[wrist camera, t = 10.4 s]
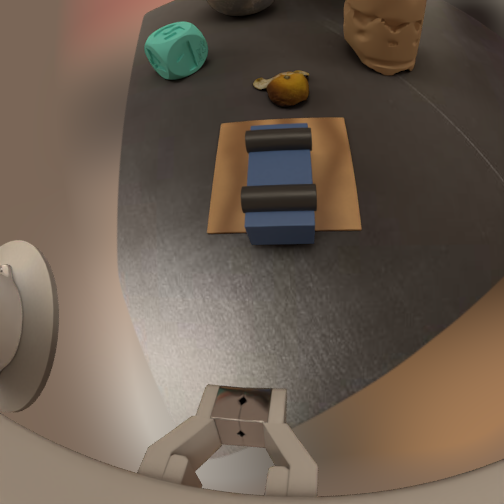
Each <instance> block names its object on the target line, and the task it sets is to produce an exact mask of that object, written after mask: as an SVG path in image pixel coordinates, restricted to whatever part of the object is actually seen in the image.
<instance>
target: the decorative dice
mask: <svg viewBox="0 0 504 504" xmlns="http://www.w3.org/2000/svg"><path fill="white" fill-rule="evenodd" d="M144 50H145V53H146V56H147V58H148V60H149V62H150V63H151V65H152V66H153V68H154V69H155V70H156V71H157V73H158V74H159V75H161V76H162V77H163V78H165V79H169V80H175V79H181V78H184V77H187V76H189V75H191V74H193V73H195V72H196V71H197V70H199V69H200V68H201V66H202V65H203V64H204V62H205V60H206V58H207V54H208V46H207V42H206V40H205V38H204V36H203V35H202V33H201V32H200V30H199V29H198V28H197V27H196V26H194V25H193V24H191V23H189V22H177V23H172V24H169V25H166V26H164V27H162V28H160V29H158V30H156V31H155V32H153V33H152V34H151V35H150V36H149V37H148V39H147V41H146V43H145V47H144Z"/></svg>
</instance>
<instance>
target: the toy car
mask: <svg viewBox="0 0 504 504" xmlns="http://www.w3.org/2000/svg"><path fill="white" fill-rule="evenodd" d="M245 146H246V151H247V153H248V154H249V159H248V175H247V186H242V188H241V208H242V211H243V213H245V225H244V227H245V229H246V232H247V234H248V237H249V239H250V242H251V244H252V245H268V244H313V243H314V236H315V212H314V211H317V192H316V184H313V180H312V166H311V154H310V151H312V134H311V128H310V127H309V128H308V124H307V123H293V124H273V125H257V126H251V129H250V131H246V132H245Z"/></svg>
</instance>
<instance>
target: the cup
mask: <svg viewBox="0 0 504 504" xmlns="http://www.w3.org/2000/svg"><path fill="white" fill-rule="evenodd" d="M206 1H207V2H208V3H209V5H210V6H211V7H212V8H213V9H215V10H216V11H218V12H220V13H223V14H225V15H230V16H246V15H251V14H255V13H258V12H260V11H262V10H264V9H266V8H267V7H269V6H270V5H271V4H272V3H273V1H274V0H206Z"/></svg>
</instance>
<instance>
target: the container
mask: <svg viewBox="0 0 504 504" xmlns="http://www.w3.org/2000/svg"><path fill="white" fill-rule="evenodd" d="M425 7H426V0H345V4H344V26H343V29H344V38H345V40H346V41H347V42H348V44H349V45H350V46H351V47H352V48H353V50H354V51H355V52H356V54H357V55H358V57H359V58H360V60H361V62H362V63H364V64H365V65H367V66H368V67H370V68H372V69H374V70H375V71H376V72H380V73H382V74H383V75H391V76H392V75H394V73H398V72H400V71H403V70H407V69H408V70H410V71H412V69H413V67H414V65H415V59H416V55H417V51H418V46H419V41H420V36H421V30H422V25H423V19H424V13H425Z"/></svg>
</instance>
